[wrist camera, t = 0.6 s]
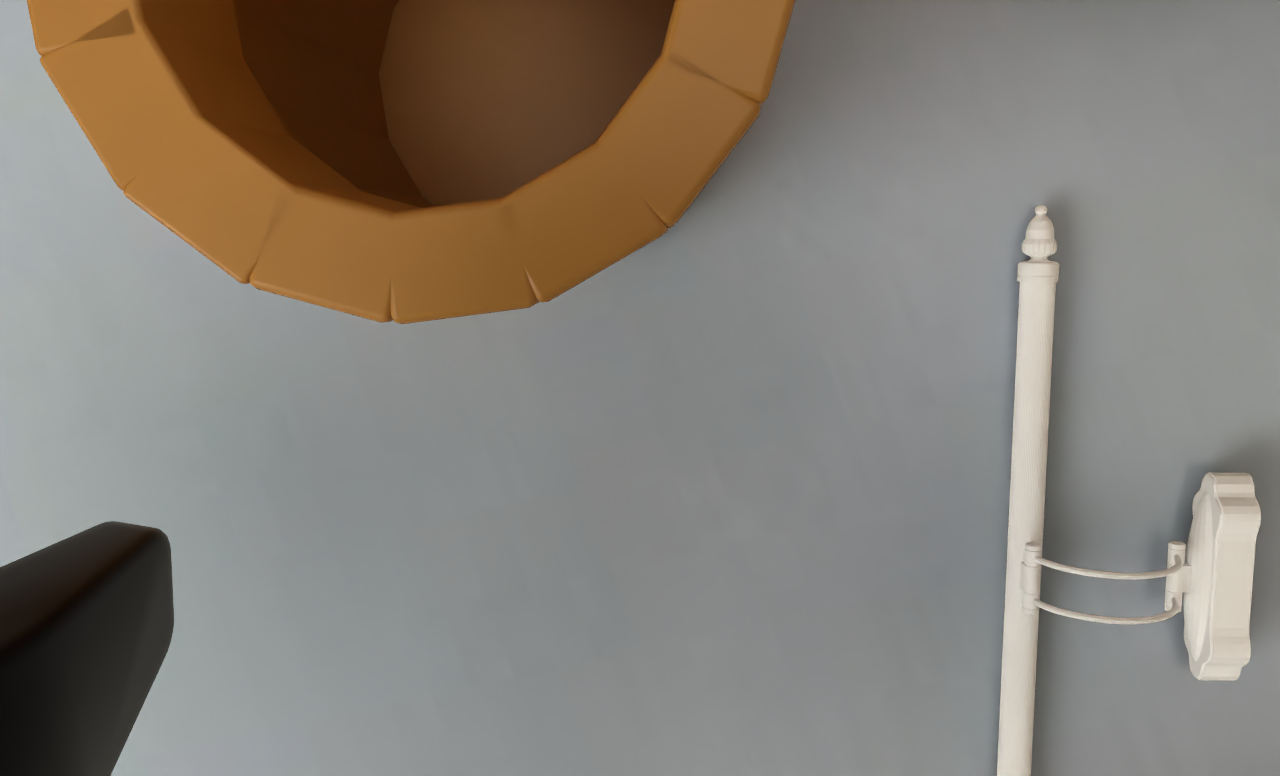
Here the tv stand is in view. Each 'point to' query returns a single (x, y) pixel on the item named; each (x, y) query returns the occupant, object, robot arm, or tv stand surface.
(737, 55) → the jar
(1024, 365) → the picture light
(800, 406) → the tv stand surface
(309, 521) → the tv stand surface
